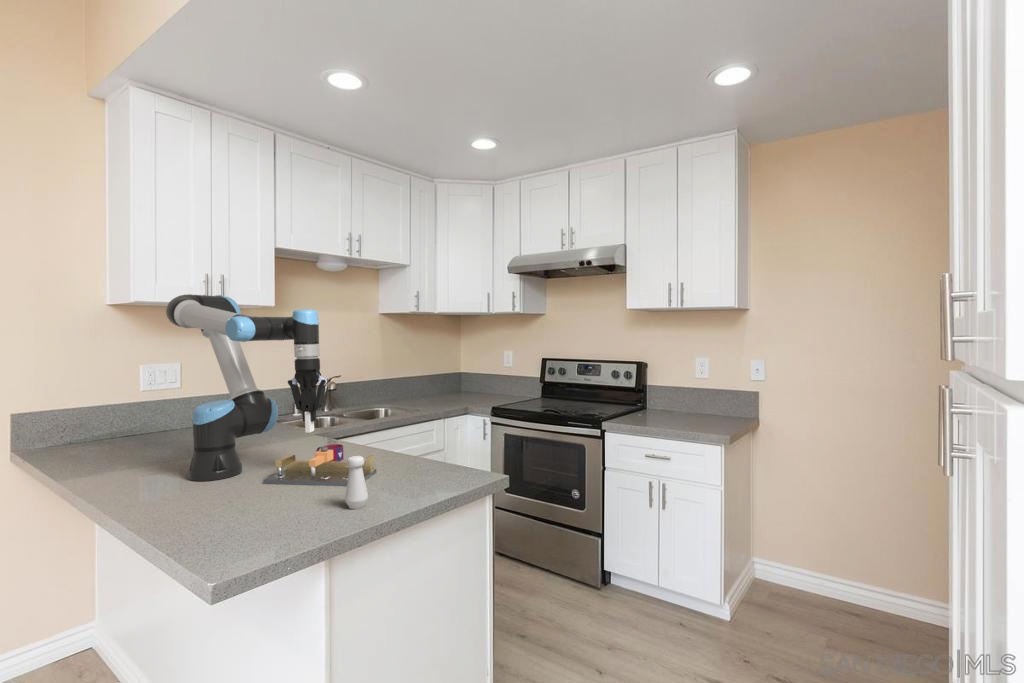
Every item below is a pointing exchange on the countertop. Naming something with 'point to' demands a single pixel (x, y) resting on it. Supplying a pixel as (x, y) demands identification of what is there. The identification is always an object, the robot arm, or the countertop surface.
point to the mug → (335, 451)
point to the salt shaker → (356, 483)
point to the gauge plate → (312, 478)
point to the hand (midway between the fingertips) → (309, 431)
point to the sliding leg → (320, 458)
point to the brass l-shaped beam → (324, 467)
